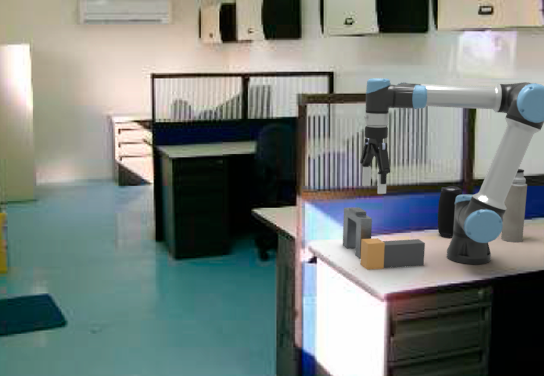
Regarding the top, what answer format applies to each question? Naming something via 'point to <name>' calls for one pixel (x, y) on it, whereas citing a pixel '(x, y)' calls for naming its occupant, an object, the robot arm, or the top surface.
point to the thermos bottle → (515, 209)
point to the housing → (356, 228)
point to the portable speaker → (447, 210)
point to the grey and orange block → (391, 253)
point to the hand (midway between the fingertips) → (373, 189)
